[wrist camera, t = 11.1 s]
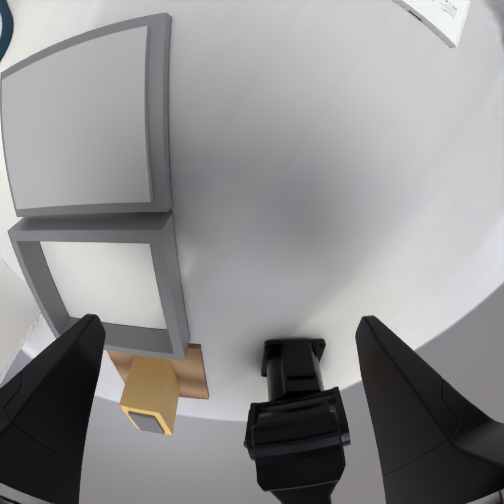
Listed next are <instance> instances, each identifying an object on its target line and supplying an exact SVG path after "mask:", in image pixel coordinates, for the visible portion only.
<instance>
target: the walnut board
mask: <svg viewBox="0 0 504 504" xmlns="http://www.w3.org/2000/svg"><path fill="white" fill-rule="evenodd" d="M107 352H108V354H109V356H110V358H111V360H112V362H113V363H114V365H115V367H116V369H117V371H118V372H119V374H120V376H121V377H122V379H123V381H124V383H125V384H126V380H127V377H128V374H129V371H130V368H131V364H132V361H133V358H134V355H132V354H125V353H119V352H113V351H108V350H107ZM137 356H139V355H137ZM144 357H146V356H144ZM152 358H154V357H152ZM160 359H163V358H160ZM168 360H171V363H172V366H173V369H174V373H175V376H176V379H177V382H178V385H179V388H180V391H179V397H186V398H197V399H209V393H208V388H207V382H206V377H205V371H204V365H203V359H202V353H201V346H200V344H189V346H188V351H187V356H186V361H182V360H172V359H168Z"/></svg>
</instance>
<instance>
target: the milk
mask: <svg viewBox="0 0 504 504" xmlns="http://www.w3.org/2000/svg"><path fill="white" fill-rule="evenodd" d="M40 314H41V311H40V309H39V307H38V305H37V303H36V301H35V299H34V297H33V295H32V292H31V290H30V288H29V286H28V285H27V284H26V283H25V282H24V281H23V280H22V279H21V278H20V277H19V276H18V275H17V274H16V273H15V272H14V271H13V270H12V268H11V267H10V266H9V265H8V264H7V263H6V262H5V261H4V260H3V258H2V257H1V256H0V384H1V382H2V380H3V379H4V377H5V375H6V373H7V371H8V369H9V368H10V366H11V364H12V362H13V361H14V359H15V357H16V355H17V354H18V352H19V351H20V349H21V347H22V346H23V344H24V343H25V341H26V339H27V338H28V336H29V335H30V333H31V331H32V329H33V327H34V325H35V323H36V321H37V319H38V317H39V316H40Z"/></svg>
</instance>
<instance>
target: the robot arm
mask: <svg viewBox="0 0 504 504" xmlns="http://www.w3.org/2000/svg"><path fill="white" fill-rule="evenodd" d="M105 338H106V332H105V329H104V327H103V325H102V323H101V321H100V319H99V317H98V316H97V315H95V314H86V315H85V316H83V317H82V318H81V319H80V320H79V321H77V322H76V323H75V324H74V325H72V326H71V327H70V328H69V329H68V330H66V331H65V332H64V333H63V334H62V335H61V336H59V337H58V338H57V339H56V340H55V341H54V342H52V343H51V344H50V345H49V346H48V347H47V348H45V349H44V350H43V351H42V352H41V353H40V354H39V355H37V356H36V357H35V358H34V359H33V360H32V361H31V362H30V363H29V364H27V365H26V366H25V367H24V368H23V369H22V371H20V372H19V373H18V374H16V375H15V376H14V377H13V378H12V379H11V380H10V381H9V382H8V383H6V384H5V385H4V386H3V387H2V388H0V504H79V492H80V479H81V470H82V467H81V466H82V460H83V453H84V446H85V439H86V433H87V427H88V422H89V417H90V412H91V407H92V402H93V398H94V394H95V389H96V385H97V381H98V377H99V373H100V367H101V361H102V354H103V349H104V343H105ZM355 338H356V344H357V351H358V357H359V364H360V371H361V377H362V381H363V385H364V389H365V393H366V398H367V402H368V406H369V410H370V414H371V419H372V424H373V428H374V433H375V438H376V443H377V448H378V453H379V459H380V464H381V470H382V475H383V483H384V490H385V497H386V504H504V423H500V422H497V421H495V420H493V419H491V418H490V417H489V416H487V415H486V414H485V413H483V412H482V411H481V410H480V409H478V408H477V407H476V406H475V405H473V404H472V403H471V402H470V401H468V400H467V399H466V398H465V397H463V396H462V395H461V394H460V393H459V392H458V391H456V390H455V389H454V388H453V387H452V386H451V385H450V384H449V383H448V382H447V381H446V380H445V379H442V377H441V376H440V375H439V374H438V373H437V372H436V371H435V370H434V369H433V368H432V367H431V366H430V365H429V364H427V363H426V362H425V361H424V360H423V359H422V358H421V357H420V356H419V355H418V354H417V353H416V352H414V351H413V350H412V349H411V348H410V347H409V346H408V345H407V344H406V343H405V342H403V341H402V340H401V339H400V338H399V337H398V336H397V335H396V334H395V333H393V332H392V331H391V330H390V329H389V328H388V327H387V326H386V325H384V324H383V323H382V322H381V321H380V320H379V319H378V318H376V317H375V316H373V315H371V316H363V317H362V318H361V321H360V323H359V326H358V328H357V331H356V335H355ZM325 346H326V343H325V340H297V341H267V342H265V345H264V353H263V361H262V369H261V376H263V377H267V381H268V398H269V402H262V403H251V406H250V410H249V414H248V422H247V429H246V436H245V440H244V446H245V447H246V448H247V449H248V452H249V455H250V458H251V459H252V460H253V461H255V463H256V470H257V482H258V484H259V486H260V487H261V488H262V490H263V491H270V492H271V493H272V494H273V495H274V496H275V497H276V498H277V499H278V500H279V501H280V502H281V503H282V504H332V498H331V493H332V492H333V490H334V488H335V486H336V484H337V482H338V481H339V480H340V478H341V476H342V473H343V471H344V468H345V465H346V463H345V457H344V451H343V450H344V449H343V447H344V446H348V445H350V435H349V428H348V423H347V418H346V414H345V410H344V407H343V403H342V399H341V395H340V391H339V388H338V387H334V388H333V389H329V390H325V391H324V386H323V381H322V376H321V371H320V366H319V362H320V359H321V357H322V354H323V351H324V349H325ZM332 411H333V412H332Z"/></svg>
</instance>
